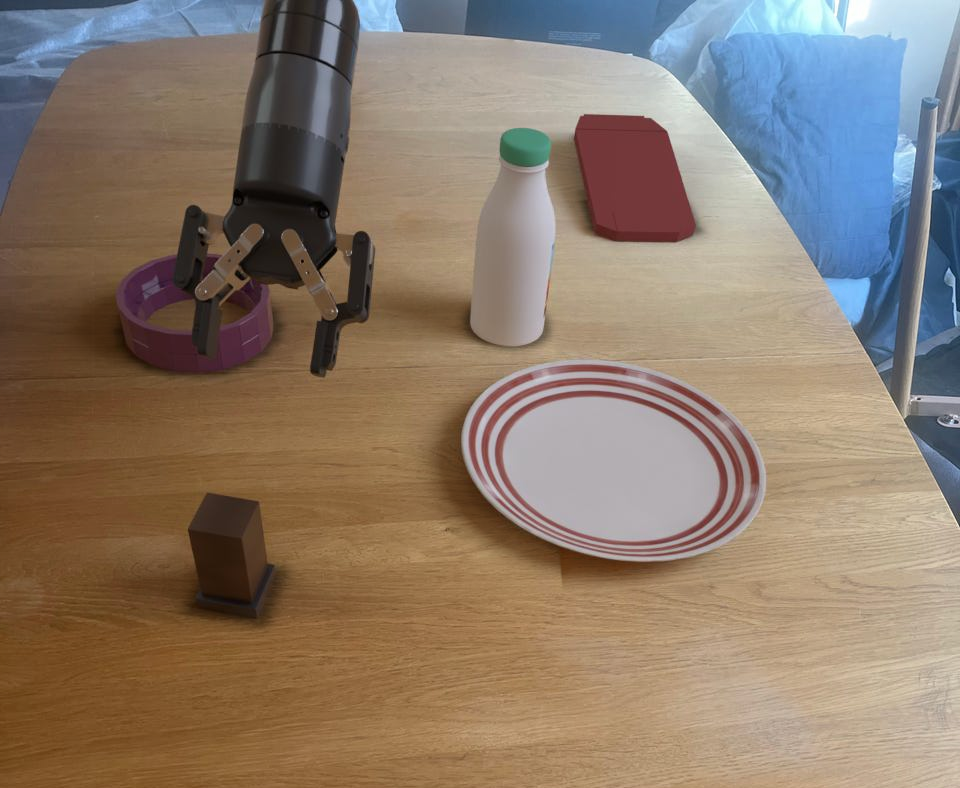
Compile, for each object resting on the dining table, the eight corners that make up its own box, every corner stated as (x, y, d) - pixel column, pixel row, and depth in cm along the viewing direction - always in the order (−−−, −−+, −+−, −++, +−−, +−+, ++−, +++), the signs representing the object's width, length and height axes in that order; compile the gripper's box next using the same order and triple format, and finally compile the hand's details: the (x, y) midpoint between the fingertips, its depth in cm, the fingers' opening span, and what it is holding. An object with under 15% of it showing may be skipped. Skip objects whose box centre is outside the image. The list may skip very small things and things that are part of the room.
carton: (687, 267, 122) (651, 143, 135) (698, 232, 118) (660, 108, 131) (591, 265, 121) (564, 141, 133) (598, 231, 117) (570, 105, 129)
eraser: (198, 615, 77) (179, 531, 70) (219, 571, 80) (203, 487, 73) (258, 626, 77) (245, 543, 70) (277, 581, 80) (266, 498, 73)
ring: (111, 375, 95) (100, 329, 91) (143, 293, 104) (134, 248, 101) (263, 383, 96) (258, 338, 92) (281, 301, 105) (277, 257, 101)
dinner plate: (704, 378, 102) (712, 350, 99) (803, 571, 85) (816, 544, 82) (438, 390, 97) (440, 361, 95) (487, 597, 80) (491, 569, 78)
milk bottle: (537, 358, 102) (563, 162, 86) (463, 346, 102) (476, 149, 87) (547, 317, 107) (573, 125, 91) (476, 306, 107) (491, 112, 92)
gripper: (180, 104, 69) (149, 340, 70) (381, 134, 68) (345, 372, 70) (216, 149, 76) (187, 361, 78) (398, 176, 76) (364, 390, 77)
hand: (261, 366), depth 74 cm, fingers open, 8 cm apart
